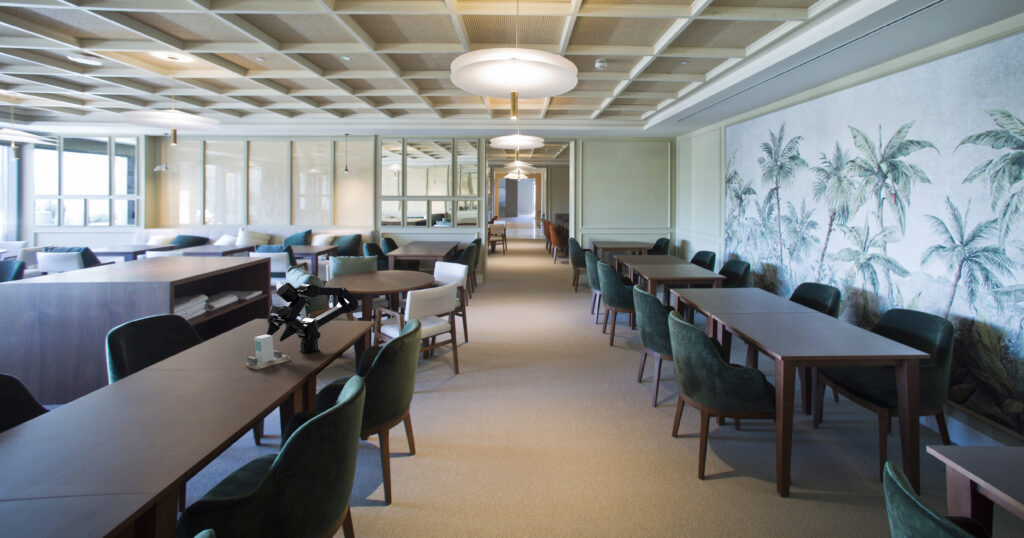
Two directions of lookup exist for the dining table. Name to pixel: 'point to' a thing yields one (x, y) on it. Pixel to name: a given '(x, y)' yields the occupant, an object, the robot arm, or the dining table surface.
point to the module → (264, 348)
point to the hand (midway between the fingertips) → (273, 339)
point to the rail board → (278, 359)
